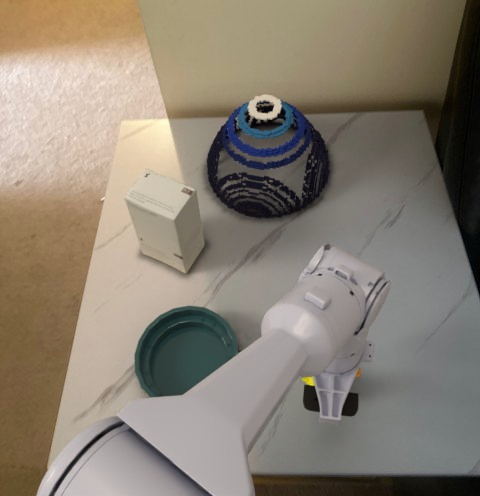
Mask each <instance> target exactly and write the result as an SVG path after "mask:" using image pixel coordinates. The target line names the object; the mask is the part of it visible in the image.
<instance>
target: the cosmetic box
mask: <svg viewBox="0 0 480 496" xmlns="http://www.w3.org/2000/svg"><path fill="white" fill-rule="evenodd" d="M198 198H199V197H198V191H197V189H196V188H195V187H192V186H189V185H187V184H184V183H182V182H180V181H177V180H176V179H175V178H173V177H171V176H167V175H163V174H161V173H160V174H159V173H158V172H156V171H153V170H151V169H149V168H145V169H144V170H143V172H142V173H141V174H140V176H139V177H138V178H137V180H136V181H135V182H134V184H133V185H132V186H131V188H130V189H129V190H128V191H127V193H126V194H125V195H124V197H123V199H124V201H125V204H126V208H127V210H128V214H129V216H130V219H131V223H132V225H133V229H134V232H135V235H136V238H137V241H138V244H139V248H140V250H141V253H142V254H143V255H144V256H148V257H150V258H153V259H155V260H157V261H160V262H162V263H164V264H166V265H168V266H170V267H172V268H174V269H176V270H178V271H179V272H181V273H183V274H187V273H188V272H189V270H190V269H191V267H192V266H193V265H194V263H195V261H196V259H197V258H198V257H199V255H200V254H201V252H202V251H203V248H204V247H205V246H206V242H205V237H204V230H203V224H202V218H201V217H202V216H201V211H200V205H199V199H198Z"/></svg>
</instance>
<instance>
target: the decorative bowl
mask: <svg viewBox="0 0 480 496" xmlns="http://www.w3.org/2000/svg"><path fill="white" fill-rule="evenodd" d="M278 119H279V120H283V122H277V120H278ZM258 120H260V123H259V122H258ZM249 123H250V124H249ZM237 124H238V125H237ZM275 125H276V126H278V127H275V128H273V129H271V130H265V129H264V130H263V131H262V130H259V129H258V128H254V127H258V126H275ZM237 127H238V128H237ZM251 127H252V128H251ZM288 129H292V130H295V134H294V135H293V136H292V138H291V139H289V141H285V143H284V144H282V145H281V144H279V145H278V147H276V146H275V147H274V148H273V147H266V148H263V147H261V148H255V146H252V145H251V144H247V143H244V142H243V140H242V139H241V138H239V135H238V134H237V132H240V131H241V132H242V133H244V134H245V135H249V137H254V139H258V140H263V139H265V140H268V139H274V138H279V137H281V136H283V135H285V133H287V132H288ZM304 135H305V136H304ZM303 137H304V140H303ZM301 140H303V143H302V144H301V145H300V146H298V144H300V142H301ZM228 141H229V142H230V143H231V145H232V146H234V147H235V148H236V150H239V151H240V152H242V153H243V154H247V156H250V157H251V156H252V157H257V158H264V159H266V157H267V158H272V157H274V158H275V157H276V158H277V157H278V156H279V157H280V156H284V155H285V154H287V153H289V152H291V151H293V149H295V148H297V147H298V149H297V150H295V152H293V153H291V154H289V156H288V157H286V156H285V157H284V158H283V157H282V159H280V160H279V159H278V160H271V161H267V162H266V163H264V162H263V161H257V160H251V159H249V160H247V157H244V155H241V154H240V153H235V150H234V149H231V146H229V142H228ZM311 142H312V145H311V149H310V152H309V153H308V154H307V159H306V163H305V167H304V168H305V170H304V174H305V175H304V176H303V181H304V182H303V183H302V187H301V195H300V197H299V196H298V195H297V192H296V191H294V190H293V189H290V187H289V186H288V185H284V182H281V180H279V179H276V178H275V177H270V176H268V175H264V176H260V175H254V174H248V172H246V171H242V172H233V173H229V174H227V175H224V176H223V177H221V178H219V180H218V172H219V171H218V170H219V162H220V157H221V154H220V151H222V147H223V148H224V151H225V152H226V154H227V155H228V156H229V158H231V159H232V160H233V161H234V162H238V164H241V166H246V168H247V169H248V168H249V169H255V170H261V171H265V170H271V169H272V170H276V169H280V168H282V167H287V166H288V165H291V164H293V163H295V162H297V159H298V160H299V159H300V158H302V156H304V154H305V152H307V148H310V144H311ZM312 157H313V158H312ZM329 157H330V156H329V149H327V146H326V141H325V139H324V138H323V137H322V134H321V133H320V131H319V130H317V129H315V127H314V124H313V123H312V122H310V120H309V119H308V118H307V117H306V116H305V115H304V114H303V112H302V111H300V110H299V109H297V106H294V105H292V104H291V103H289V102H287V101H283V100H282V99H280V98H278V97H277V96H274V95H273V94H272V95H271V94H265V93H263V94H262V95H254V98H252V99H251V100H248V101H247V102H245V103H242V105H241V106H238V108H236V109H234V110H233V112H232V113H231V114H230V116H228V118H227V120H226V121H225V123H223V125H221V126H220V129H219V130H218V131H217V133H216V135H215V137H214V139H213V140H212V143H211V145H210V147H209V150H208V153H207V157H206V169H207V173H206V174H207V181H208V182H209V186H210V188H211V189H212V193H214V194H215V195H216V198H218V199H219V200H220V202H221V203H223V204H224V206H226V207H227V208H228V209H231V210H233V211H235V212H238V214H243V215H244V216H245V217H250V218H255V219H256V218H257V219H262V218H264V219H269V218H273V219H274V218H282V217H284V216H286V217H287V216H288V215H289V216H291V215H293V213H294V214H295V213H299V212H300V211H301V209H303V210H304V209H306V208H307V206H309V205H311V204H313V202H315V201H316V199H318V198H320V194H321V193H322V192H323V189H325V188H326V187H325V186H326V184H328V181H329V178H330V177H329V176H330V172H331V169H330V158H329ZM321 163H322V164H321ZM319 172H320V174H319ZM244 178H246V179H244ZM233 181H237V182H236V183H231V182H233ZM239 181H240V182H239ZM228 182H230V183H231V184H229V185H227V186H225V185H226V184H227V183H228ZM265 182H266V183H265ZM269 185H270V186H272V187H274V188H278V189H275V190H274V189H273V188H272V187H269ZM317 185H318V186H317ZM223 187H224V188H223ZM221 188H223V190H221ZM249 189H251V190H252V189H253V190H257V191H259V192H253V191H250V190H249ZM278 190H279V191H280V192H283V193H284V194H285V195H286V196H289V197H285V196H284V195H282V194H281V193H280V192H279V191H278ZM268 192H269V193H268ZM241 193H243V194H241ZM244 193H247V194H248V195H245V194H244ZM236 194H238V195H236ZM234 195H236V196H234ZM259 195H261V196H263V197H265V198H262V197H258V196H259ZM225 196H226V197H225ZM233 196H234V197H233ZM266 198H268V199H270V200H271V201H273V202H274V203H277V206H278V207H279V208H281V210H279V209H278V207H277V206H276V205H275V204H273V203H272V202H271V201H268V200H267V199H266ZM300 198H301V199H300ZM288 199H289V200H291V201H289V200H288ZM239 200H240V201H239ZM255 200H256V201H255ZM236 202H237V203H236ZM235 203H236V204H235ZM292 203H294V204H292ZM301 203H302V204H301ZM234 204H235V205H234ZM265 204H266V205H267V206H266V205H265ZM285 207H286V208H285ZM250 210H252V211H255V212H257V213H254V212H251V211H250ZM286 210H288V211H286ZM249 211H250V212H249ZM273 211H274V212H275V213H274V214H273Z"/></svg>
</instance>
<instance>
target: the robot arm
mask: <svg viewBox="0 0 480 496" xmlns="http://www.w3.org/2000/svg"><path fill="white" fill-rule="evenodd" d="M392 282H393V279H392V278H390V279H389V278H388V277H386V272H385V271H383V270H381V269H379V268H377V267H376V266H374V265H373V264H371V263H368V262H367V261H365V260H363V259H362V258H359V257H357V256H356V255H354V254H352V253H350V252H348V251H347V250H344V249H343V248H341V247H340V246H337V245H334V246H332V247H331V243H329V242H325V243H324V244H322V245H321V246H320V247H319V249H318V250H317V251H316V253H314V255H313V257H312V258H311V259H310V261H309V263H308V264H307V266H305V268H304V269H303V271H302V272H301V273H300V275H299V279H298V281H297V283H296V285H295V286H294V287H293V288H291V290H289V291H288V292H287V293H286V294H285V295H284V296H283V297H281V298H280V299H279V300H278V301H277V302H276V303H275V304H274V305H272V307H270V308H269V309H268V310H267V311H266V313H265V314H264V316H263V318H262V321H261V325H260V337H259V338H257V339H256V340H254V341H253V342H252V343H251V344H249V345H248V346H247V347H246V348H244V349H243V350H241V351H239V354H237V355H236V356H235V357H233V358H232V359H231V360H229V361H228V362H227V363H225V364H224V365H222V366H221V367H220V368H218V369H217V370H216V371H214V372H213V373H212V374H210V375H209V376H208V377H206V378H205V379H204V380H202V381H201V382H200V383H198V384H197V385H195V386H194V387H193V388H191V389H190V390H189V391H187V392H186V393H185V394H183V395H177V396H164V397H151V398H148V397H141V398H135V399H132V400H131V401H129V402H128V403H127V404H126V405H125V406H124V407H123V408H122V409H121V410H120V411H119V412H117V414H116V415H112V416H107V417H106V418H104V419H100V420H97V421H95V422H93V423H91V424H89V425H88V426H86V427H85V428H83V429H82V430H81V431H80V432H79V433H77V434H76V435H75V436H74V437H73V438H72V439H71V440H70V441H69V442H68V443H67V444H66V445H65V446H64V447H63V449H62V450H61V451H60V452H59V453H58V455H57V456H56V457H55V458H54V460H53V461H52V463H51V464H50V465H49V467H48V469H47V471H46V472H45V473H44V476H43V477H42V479H41V482H40V483H39V487H38V489H37V492H36V495H35V496H256V488H255V485H254V480H253V476H252V472H251V467H250V463H249V455H250V453H251V451H252V450H253V448H254V447H255V445H256V443H257V442H258V440H259V439H260V437H261V436H262V434H263V433H264V431H265V430H266V428H267V427H268V425H269V424H270V422H271V420H272V419H273V417H274V416H275V414H276V413H277V411H278V410H279V408H280V407H281V405H282V403H283V402H284V401H285V399H286V397H287V395H288V394H289V392H290V391H291V390H292V388H293V387H294V385H295V383H296V381H298V379H299V377H300V378H304V377H312V378H313V382H314V385H315V386H312V385H308V384H304V385H303V393H302V394H303V395H302V405H303V408H304V409H305V410H307V411H309V412H315V413H319V419H318V420H319V421H318V422H319V423H322V424H328V425H335V426H340V424H341V421H342V417H347V418H348V417H351V418H353V417H355V416H356V415H357V413H358V411H359V402H360V401H359V399H360V398H359V397H360V394H359V393H358V392H351V391H350V390H351V388H352V386H353V384H354V381H355V379H356V378H355V377H356V374H357V372H358V370H359V367H360V368H361V365H362V364H363V363H372V362H373V361H374V357H375V345H374V343H373V341H371V340H367V338H368V334H369V331H370V328H371V326H372V325H373V323H374V322H375V320H376V318H377V317H378V315H379V313H380V312H381V310H382V308H383V306H384V304H385V302H386V301H387V298H388V295H389V293H390V290H391V285H392Z"/></svg>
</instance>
